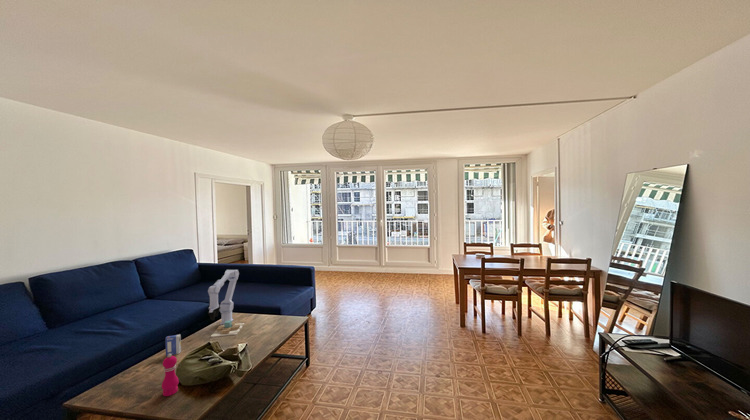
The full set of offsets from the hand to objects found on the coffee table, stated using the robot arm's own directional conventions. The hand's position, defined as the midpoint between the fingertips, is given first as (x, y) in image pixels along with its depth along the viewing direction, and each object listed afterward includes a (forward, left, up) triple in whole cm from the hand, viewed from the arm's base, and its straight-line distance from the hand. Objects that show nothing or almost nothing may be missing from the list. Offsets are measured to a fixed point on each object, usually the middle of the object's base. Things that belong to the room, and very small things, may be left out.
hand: (214, 318), depth 219 cm
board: (+2, +11, -9) cm, 15 cm away
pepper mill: (+77, +7, -10) cm, 78 cm away
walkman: (+33, -13, -10) cm, 37 cm away
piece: (+2, +11, -9) cm, 14 cm away
